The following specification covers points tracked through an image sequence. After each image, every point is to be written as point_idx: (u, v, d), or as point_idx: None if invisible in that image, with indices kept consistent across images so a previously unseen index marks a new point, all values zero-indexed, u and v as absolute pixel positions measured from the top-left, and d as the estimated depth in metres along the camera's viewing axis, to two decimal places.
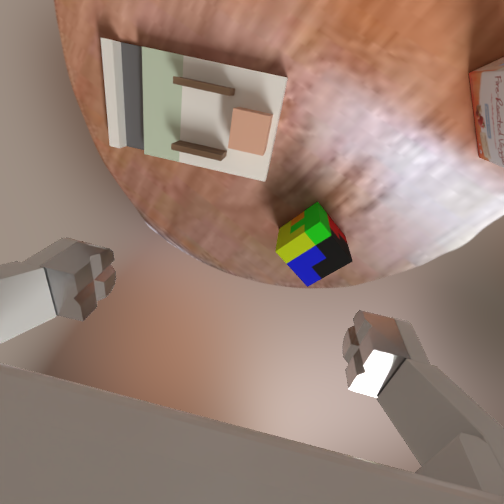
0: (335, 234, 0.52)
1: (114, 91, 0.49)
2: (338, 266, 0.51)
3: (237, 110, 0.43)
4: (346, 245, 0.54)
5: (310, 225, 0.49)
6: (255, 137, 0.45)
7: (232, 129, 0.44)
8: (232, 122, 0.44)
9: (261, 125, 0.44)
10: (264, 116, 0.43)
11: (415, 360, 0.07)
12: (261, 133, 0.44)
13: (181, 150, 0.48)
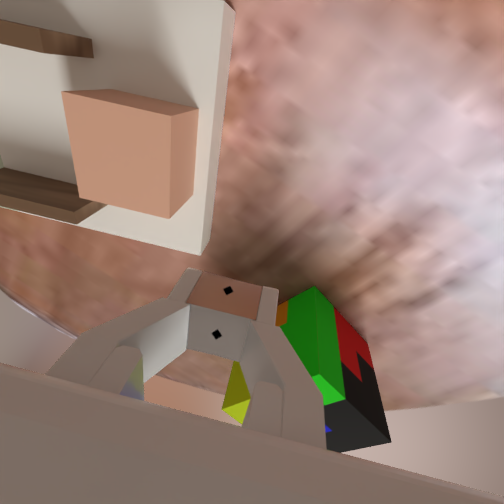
0: (352, 374, 0.24)
1: None
2: (358, 444, 0.23)
3: (74, 98, 0.15)
4: (373, 382, 0.26)
5: None
6: (141, 174, 0.16)
7: (76, 151, 0.16)
8: (71, 132, 0.16)
9: (151, 142, 0.15)
10: (153, 115, 0.14)
11: (259, 321, 0.07)
12: (154, 164, 0.16)
13: None
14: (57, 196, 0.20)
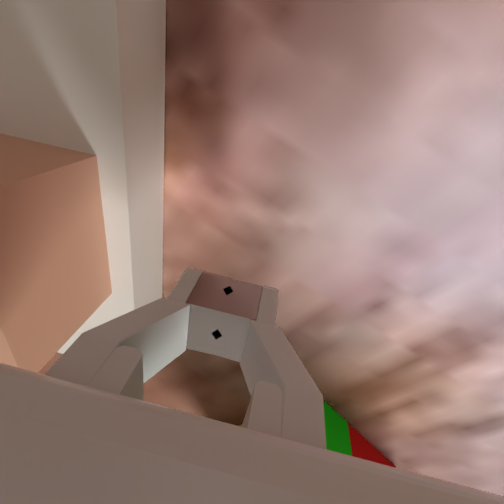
0: None
1: None
2: None
3: None
4: None
5: None
6: None
7: None
8: None
9: None
10: None
11: (259, 321, 0.07)
12: None
13: None
14: None
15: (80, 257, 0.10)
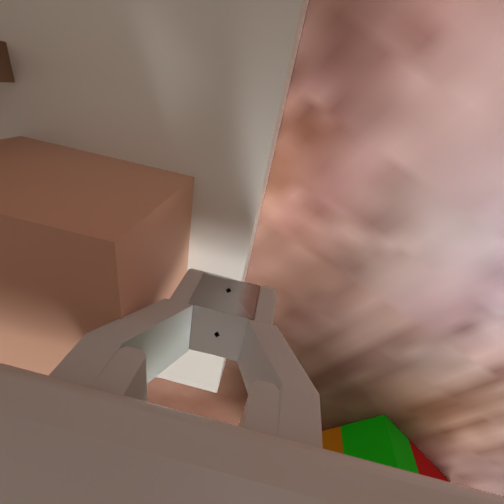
0: None
1: None
2: None
3: None
4: None
5: None
6: (58, 342, 0.07)
7: None
8: None
9: (72, 291, 0.06)
10: (67, 238, 0.05)
11: (257, 320, 0.07)
12: (85, 330, 0.07)
13: None
14: None
15: (173, 279, 0.09)
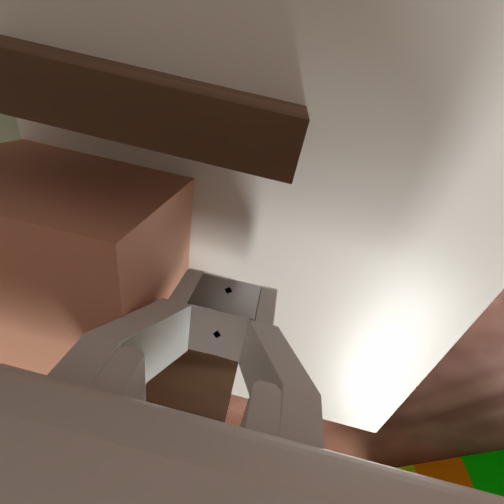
0: None
1: None
2: None
3: None
4: None
5: None
6: (61, 342, 0.07)
7: None
8: None
9: (75, 292, 0.06)
10: (69, 240, 0.05)
11: (258, 321, 0.07)
12: (87, 330, 0.07)
13: None
14: (171, 380, 0.11)
15: (174, 279, 0.09)
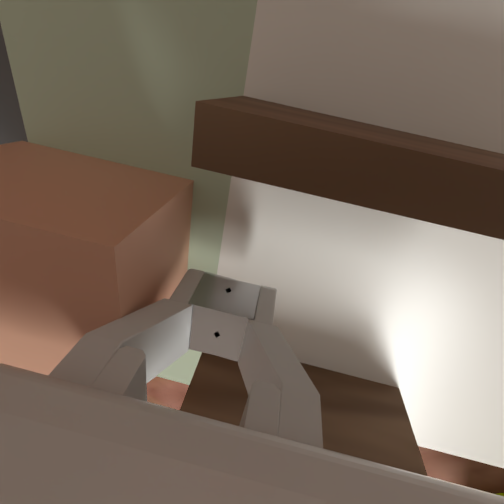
0: None
1: None
2: None
3: None
4: None
5: None
6: (60, 345, 0.07)
7: None
8: None
9: (73, 295, 0.06)
10: (68, 243, 0.05)
11: (257, 320, 0.07)
12: (85, 332, 0.07)
13: None
14: (356, 433, 0.10)
15: (173, 281, 0.09)
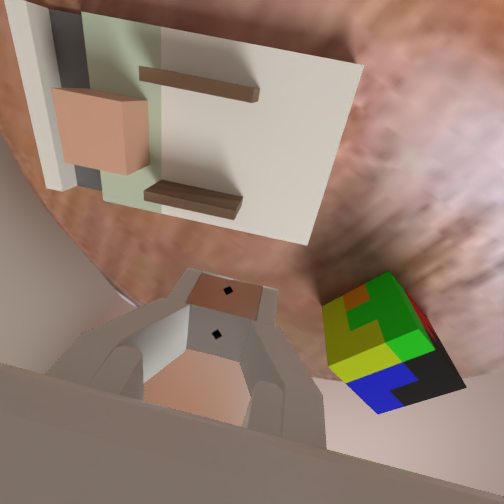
0: (431, 336, 0.30)
1: (41, 97, 0.27)
2: (438, 392, 0.30)
3: (59, 91, 0.22)
4: (442, 346, 0.33)
5: (395, 330, 0.28)
6: (105, 143, 0.24)
7: (62, 128, 0.24)
8: (57, 115, 0.23)
9: (110, 120, 0.23)
10: (110, 102, 0.22)
11: (259, 321, 0.07)
12: (113, 135, 0.24)
13: (162, 202, 0.27)
14: (215, 200, 0.27)
15: (141, 138, 0.26)
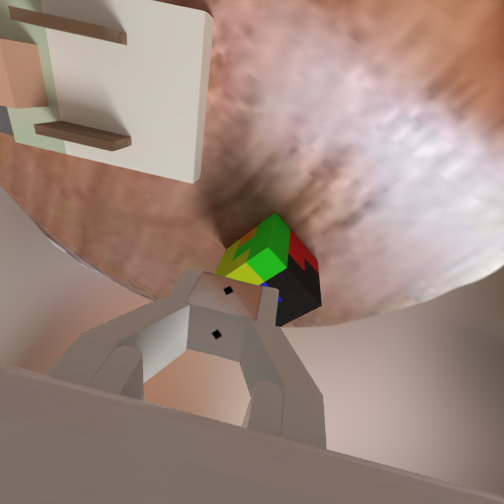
0: (297, 263, 0.34)
1: None
2: (301, 311, 0.34)
3: None
4: (316, 277, 0.37)
5: (256, 252, 0.32)
6: None
7: None
8: None
9: None
10: None
11: (260, 321, 0.07)
12: None
13: (51, 134, 0.31)
14: (99, 135, 0.31)
15: (33, 78, 0.30)
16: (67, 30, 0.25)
